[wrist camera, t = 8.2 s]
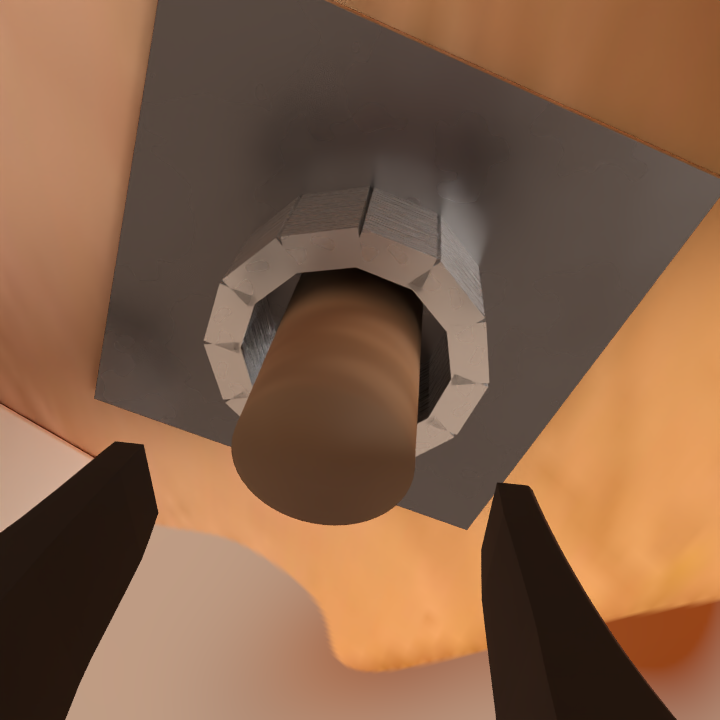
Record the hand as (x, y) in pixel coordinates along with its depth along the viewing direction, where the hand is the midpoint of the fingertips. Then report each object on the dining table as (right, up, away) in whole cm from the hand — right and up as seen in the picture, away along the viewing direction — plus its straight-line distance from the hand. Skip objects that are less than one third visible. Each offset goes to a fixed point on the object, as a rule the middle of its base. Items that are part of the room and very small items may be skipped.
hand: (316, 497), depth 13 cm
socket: (+1, +5, +7) cm, 9 cm away
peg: (+1, +5, +6) cm, 8 cm away
